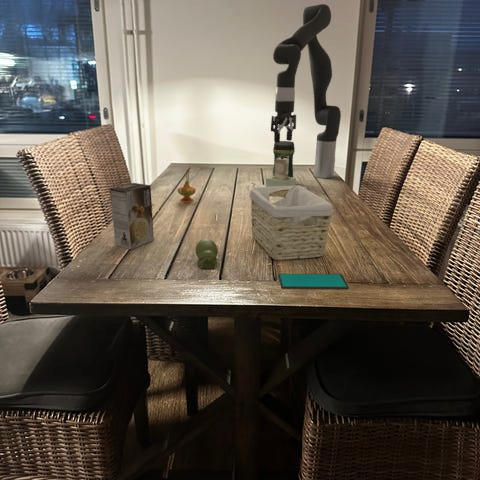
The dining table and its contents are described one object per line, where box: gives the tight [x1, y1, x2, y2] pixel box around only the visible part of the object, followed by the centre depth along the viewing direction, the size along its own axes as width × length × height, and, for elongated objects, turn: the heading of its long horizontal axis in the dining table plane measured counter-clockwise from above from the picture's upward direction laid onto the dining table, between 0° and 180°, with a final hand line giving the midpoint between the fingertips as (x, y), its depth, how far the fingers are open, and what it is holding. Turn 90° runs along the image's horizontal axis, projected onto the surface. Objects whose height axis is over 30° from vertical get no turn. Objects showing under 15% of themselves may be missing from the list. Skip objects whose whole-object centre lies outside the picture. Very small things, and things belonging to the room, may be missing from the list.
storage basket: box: [249, 185, 334, 261], centre depth 121 cm, size 24×16×15 cm
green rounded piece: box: [195, 238, 219, 270], centre depth 110 cm, size 6×5×10 cm
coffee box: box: [109, 182, 155, 250], centre depth 120 cm, size 9×6×16 cm
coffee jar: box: [271, 140, 296, 178], centre depth 198 cm, size 10×8×19 cm
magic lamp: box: [177, 168, 196, 203], centre depth 165 cm, size 7×18×11 cm, turn 0°
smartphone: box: [278, 273, 350, 290], centre depth 101 cm, size 7×1×15 cm
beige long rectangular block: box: [274, 155, 289, 181], centre depth 184 cm, size 4×4×14 cm
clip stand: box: [257, 176, 308, 190], centre depth 185 cm, size 16×16×5 cm
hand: (283, 141), depth 179 cm, fingers open, 8 cm apart
